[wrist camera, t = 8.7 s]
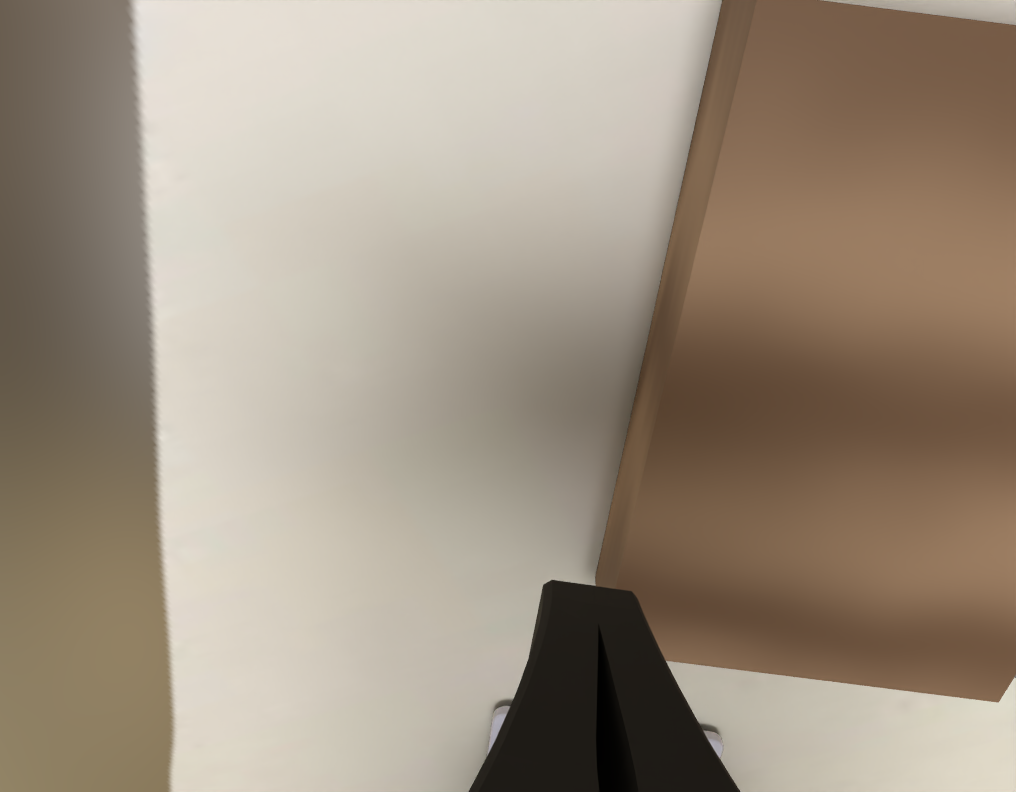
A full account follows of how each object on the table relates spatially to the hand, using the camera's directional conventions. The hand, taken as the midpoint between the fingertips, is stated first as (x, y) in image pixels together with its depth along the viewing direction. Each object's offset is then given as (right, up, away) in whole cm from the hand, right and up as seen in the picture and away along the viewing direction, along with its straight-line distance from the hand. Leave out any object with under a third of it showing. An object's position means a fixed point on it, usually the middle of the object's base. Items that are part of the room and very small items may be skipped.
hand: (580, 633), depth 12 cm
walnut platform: (+8, +4, +8) cm, 12 cm away
